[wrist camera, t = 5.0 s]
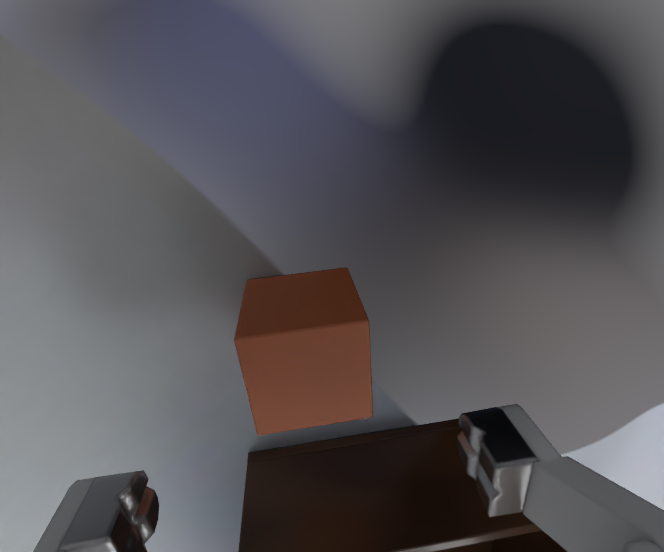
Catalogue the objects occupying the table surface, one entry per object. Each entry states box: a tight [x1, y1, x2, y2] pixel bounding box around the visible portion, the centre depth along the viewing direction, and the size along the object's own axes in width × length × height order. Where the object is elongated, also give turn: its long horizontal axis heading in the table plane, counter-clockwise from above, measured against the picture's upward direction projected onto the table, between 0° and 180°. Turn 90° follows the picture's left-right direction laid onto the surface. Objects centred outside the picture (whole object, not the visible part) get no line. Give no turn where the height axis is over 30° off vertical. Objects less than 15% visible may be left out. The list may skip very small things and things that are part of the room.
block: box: [234, 268, 373, 435], centre depth 15 cm, size 4×4×4 cm
